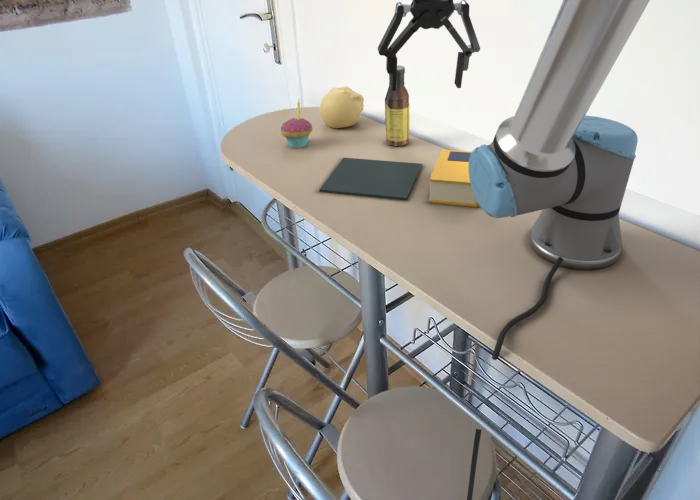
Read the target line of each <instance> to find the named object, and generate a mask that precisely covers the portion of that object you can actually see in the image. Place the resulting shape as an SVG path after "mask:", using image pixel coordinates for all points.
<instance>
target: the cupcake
mask: <svg viewBox="0 0 700 500" xmlns="http://www.w3.org/2000/svg"><path fill="white" fill-rule="evenodd" d="M297 100H298V102H297V103H296V104H297V109H296V110H297V112H296V113H297V118H295V117H293V118H290V119H288V120H287V121H284V122H282V125H281V126H280V135H281V136H282V137H283V138H285V140H286V141H287V143H288V145H289V147H290V148H293V149H302V148H304V147H306V146H307V145H308V141H309V137H310V135H311V133H312V132H313V124H312V123H311V122H310V121H309V120H308V119H305V118H304V117H303V118H301V102H300V99H297Z"/></svg>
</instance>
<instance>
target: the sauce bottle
mask: <svg viewBox="0 0 700 500" xmlns="http://www.w3.org/2000/svg"><path fill="white" fill-rule="evenodd" d="M405 73H406V67H405V66H403V65H399V64H397V77H396V90H395V91H392V88H391V73H389V74H388V75H389V76H388V79H389V80H388V87H387V91H386V94H385V98H384V117H385V119H384V120H385V123H384V125H385V140H386V143H387V145H390V146H391V147H403V146H406V145H408V144H409V141H410V93H409V91H408V89H407V88H406V87H405Z"/></svg>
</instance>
